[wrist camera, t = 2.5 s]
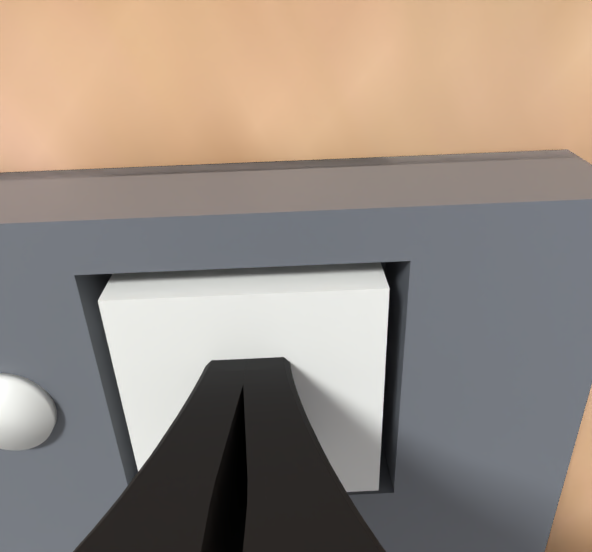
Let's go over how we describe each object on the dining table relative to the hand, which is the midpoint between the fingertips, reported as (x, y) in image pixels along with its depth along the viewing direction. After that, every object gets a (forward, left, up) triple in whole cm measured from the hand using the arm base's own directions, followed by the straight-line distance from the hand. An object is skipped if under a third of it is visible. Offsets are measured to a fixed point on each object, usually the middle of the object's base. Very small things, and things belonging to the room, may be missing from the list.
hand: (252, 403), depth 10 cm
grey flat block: (0, +8, -3) cm, 8 cm away
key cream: (0, 0, -2) cm, 2 cm away
